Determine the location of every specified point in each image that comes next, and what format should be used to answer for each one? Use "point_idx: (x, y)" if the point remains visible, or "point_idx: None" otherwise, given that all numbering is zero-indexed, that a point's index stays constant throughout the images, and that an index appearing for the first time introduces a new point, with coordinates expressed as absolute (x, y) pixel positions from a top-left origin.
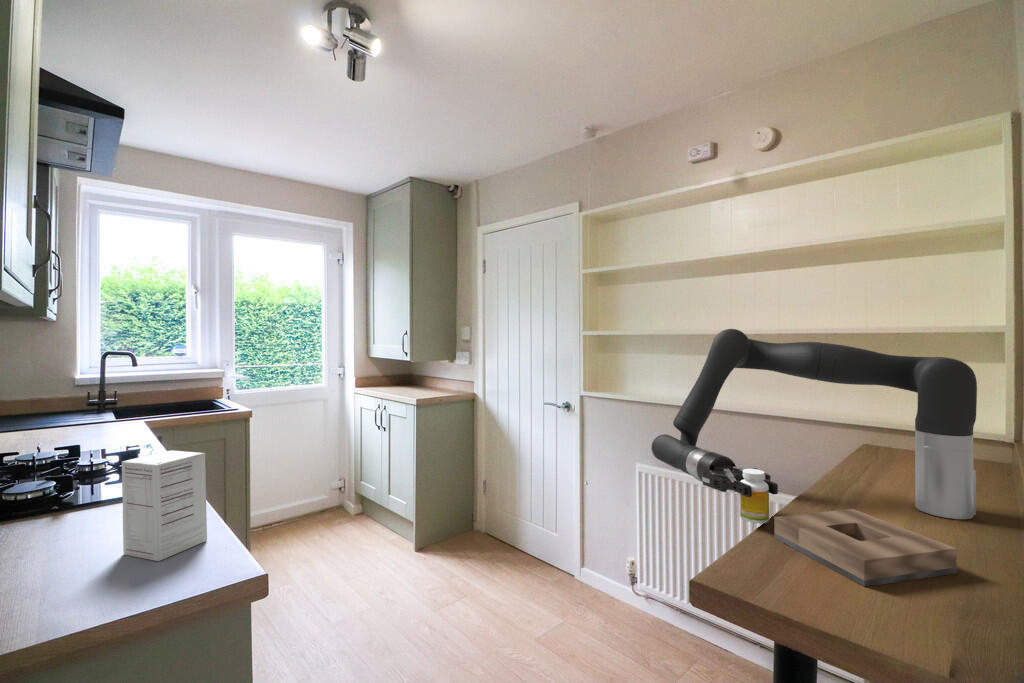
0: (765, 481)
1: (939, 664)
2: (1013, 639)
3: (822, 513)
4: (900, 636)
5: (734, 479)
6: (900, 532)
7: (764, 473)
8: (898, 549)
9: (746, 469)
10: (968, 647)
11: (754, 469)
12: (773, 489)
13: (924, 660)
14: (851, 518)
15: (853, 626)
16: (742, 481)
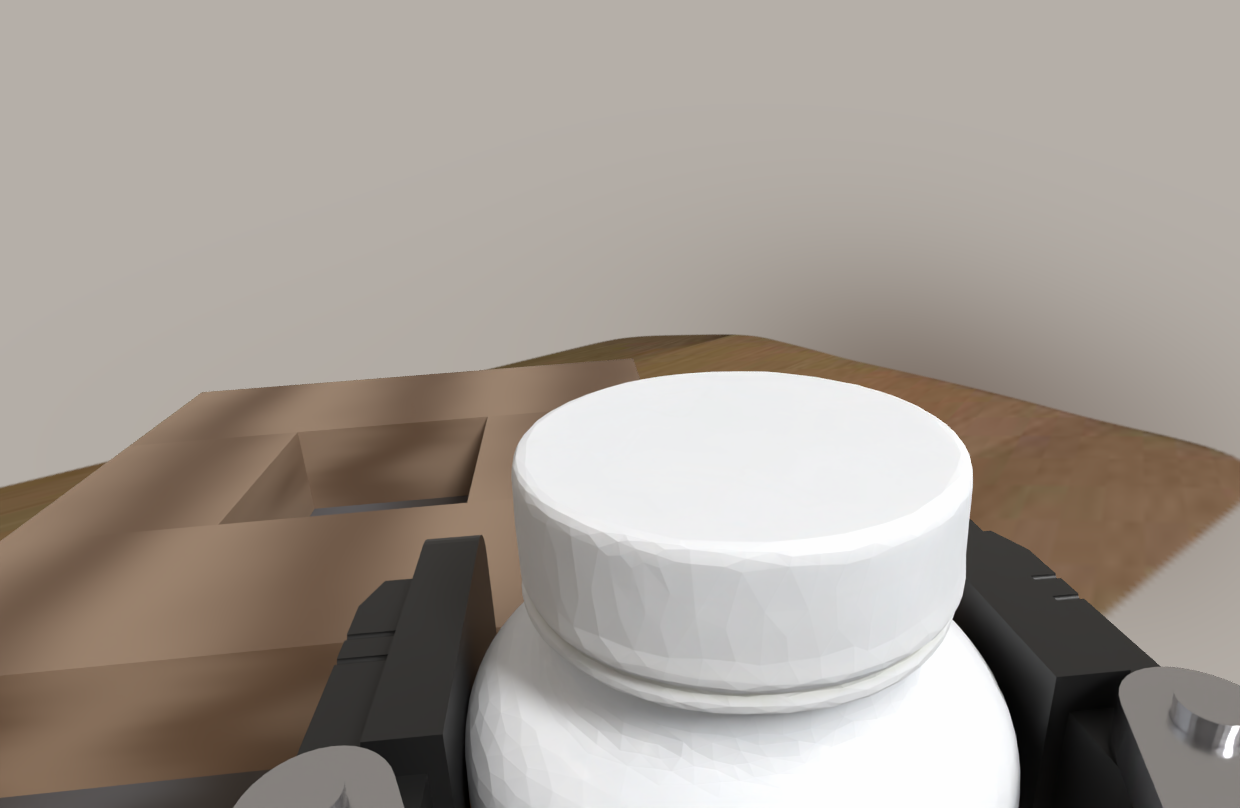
0: (466, 658)
1: (728, 340)
2: (512, 364)
3: (217, 637)
4: (732, 364)
5: (1168, 724)
6: (183, 454)
7: (582, 404)
8: (420, 387)
9: (842, 507)
10: (627, 355)
11: (623, 496)
12: (487, 617)
13: (746, 343)
14: (146, 564)
15: (814, 374)
16: (964, 677)
